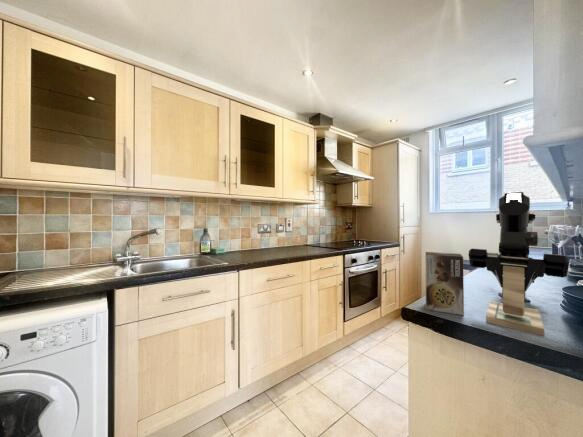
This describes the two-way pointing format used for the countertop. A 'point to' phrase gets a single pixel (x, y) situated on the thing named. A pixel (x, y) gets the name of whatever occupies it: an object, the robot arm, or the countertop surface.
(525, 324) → the maple board
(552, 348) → the countertop surface
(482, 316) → the countertop surface
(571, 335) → the countertop surface
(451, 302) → the food box
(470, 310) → the countertop surface
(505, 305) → the wooden block
